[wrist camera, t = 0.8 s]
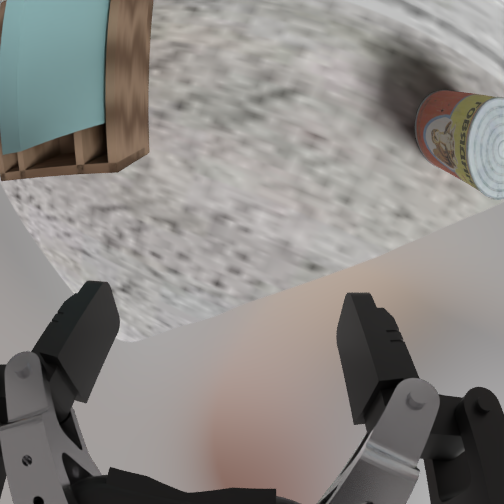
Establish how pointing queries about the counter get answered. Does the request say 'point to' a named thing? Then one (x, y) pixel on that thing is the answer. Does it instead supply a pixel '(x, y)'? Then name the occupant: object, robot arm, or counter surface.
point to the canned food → (464, 138)
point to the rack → (117, 107)
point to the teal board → (51, 70)
